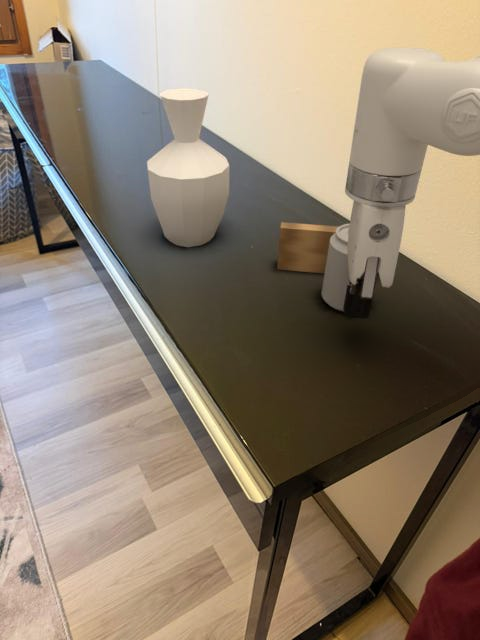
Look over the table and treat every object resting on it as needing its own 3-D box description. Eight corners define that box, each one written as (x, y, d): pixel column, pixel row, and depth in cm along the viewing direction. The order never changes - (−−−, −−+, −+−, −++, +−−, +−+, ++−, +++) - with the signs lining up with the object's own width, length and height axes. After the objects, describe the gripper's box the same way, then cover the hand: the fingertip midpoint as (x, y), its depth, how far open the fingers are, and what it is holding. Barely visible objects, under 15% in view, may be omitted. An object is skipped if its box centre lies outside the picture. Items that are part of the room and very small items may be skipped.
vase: (168, 262, 80) (153, 110, 64) (145, 227, 90) (127, 87, 74) (241, 246, 84) (244, 100, 69) (212, 214, 94) (209, 80, 79)
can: (341, 320, 68) (356, 250, 60) (310, 295, 73) (320, 227, 65) (378, 305, 71) (396, 237, 63) (346, 282, 76) (359, 215, 68)
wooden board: (370, 271, 78) (380, 229, 73) (371, 277, 77) (381, 235, 72) (278, 263, 80) (281, 221, 75) (277, 269, 78) (280, 227, 73)
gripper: (430, 212, 43) (390, 354, 55) (407, 159, 55) (378, 285, 66) (349, 207, 44) (327, 348, 56) (344, 156, 56) (326, 281, 67)
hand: (355, 313), depth 61 cm, fingers closed
